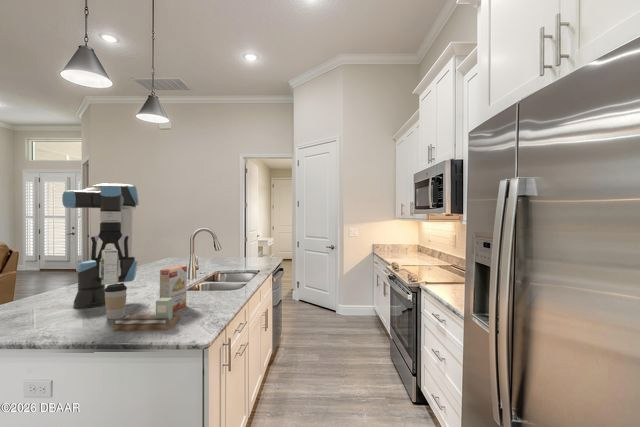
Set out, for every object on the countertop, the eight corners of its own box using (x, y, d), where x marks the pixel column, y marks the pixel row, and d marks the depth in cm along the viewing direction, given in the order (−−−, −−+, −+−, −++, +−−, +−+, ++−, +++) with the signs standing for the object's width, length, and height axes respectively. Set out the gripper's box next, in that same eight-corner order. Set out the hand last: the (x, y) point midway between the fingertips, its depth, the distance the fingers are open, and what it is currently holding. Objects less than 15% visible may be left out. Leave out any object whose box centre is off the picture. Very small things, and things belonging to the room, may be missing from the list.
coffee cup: (110, 321, 145) (110, 287, 145) (100, 317, 149) (100, 284, 149) (130, 315, 152) (131, 283, 152) (120, 312, 157) (121, 281, 157)
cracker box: (169, 313, 156) (170, 270, 156) (158, 313, 157) (158, 269, 157) (187, 305, 169) (187, 265, 169) (176, 305, 170) (177, 265, 170)
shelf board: (112, 330, 133) (112, 319, 133) (131, 319, 147) (131, 309, 147) (167, 329, 134) (167, 318, 134) (180, 318, 148) (180, 308, 148)
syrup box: (102, 282, 139) (103, 248, 139) (119, 281, 142) (119, 247, 142) (100, 285, 134) (100, 249, 134) (117, 283, 137) (117, 249, 137)
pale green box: (155, 322, 138) (155, 300, 138) (160, 318, 143) (160, 297, 143) (167, 322, 138) (167, 300, 138) (172, 318, 143) (172, 297, 143)
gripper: (81, 222, 131) (81, 279, 131) (135, 221, 139) (134, 276, 139) (85, 221, 138) (85, 276, 137) (136, 221, 146) (136, 273, 145)
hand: (110, 276), depth 138 cm, fingers closed on syrup box, 6 cm apart
